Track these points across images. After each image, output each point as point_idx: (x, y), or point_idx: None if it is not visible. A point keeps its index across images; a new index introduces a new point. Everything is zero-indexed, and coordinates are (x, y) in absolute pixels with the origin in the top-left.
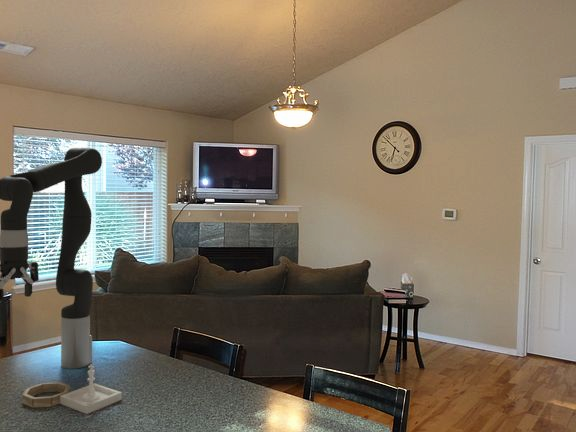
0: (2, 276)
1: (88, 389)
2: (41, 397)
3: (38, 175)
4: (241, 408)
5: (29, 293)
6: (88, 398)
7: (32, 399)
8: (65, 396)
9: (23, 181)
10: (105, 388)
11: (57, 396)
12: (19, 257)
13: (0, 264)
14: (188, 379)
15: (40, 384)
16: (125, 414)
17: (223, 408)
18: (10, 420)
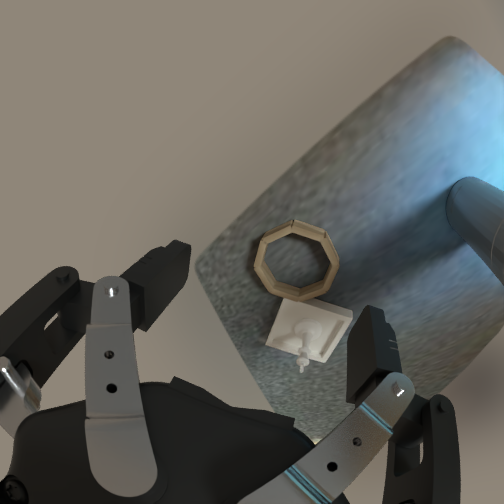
0: (111, 371)
1: (304, 335)
2: (263, 277)
3: None
4: (328, 432)
5: (350, 353)
6: (295, 333)
7: (253, 266)
8: (285, 305)
9: None
10: (334, 341)
11: (279, 295)
12: None
13: (14, 462)
14: None
15: (317, 238)
16: (283, 370)
17: (324, 425)
18: (208, 257)
